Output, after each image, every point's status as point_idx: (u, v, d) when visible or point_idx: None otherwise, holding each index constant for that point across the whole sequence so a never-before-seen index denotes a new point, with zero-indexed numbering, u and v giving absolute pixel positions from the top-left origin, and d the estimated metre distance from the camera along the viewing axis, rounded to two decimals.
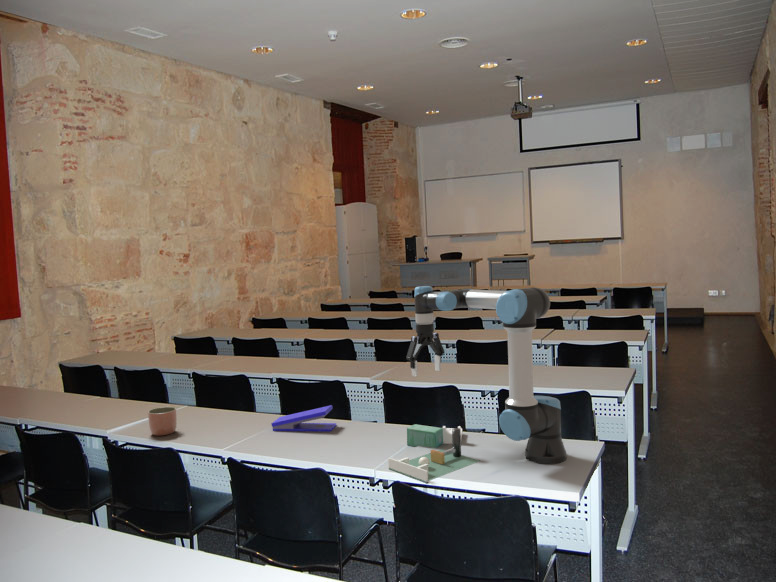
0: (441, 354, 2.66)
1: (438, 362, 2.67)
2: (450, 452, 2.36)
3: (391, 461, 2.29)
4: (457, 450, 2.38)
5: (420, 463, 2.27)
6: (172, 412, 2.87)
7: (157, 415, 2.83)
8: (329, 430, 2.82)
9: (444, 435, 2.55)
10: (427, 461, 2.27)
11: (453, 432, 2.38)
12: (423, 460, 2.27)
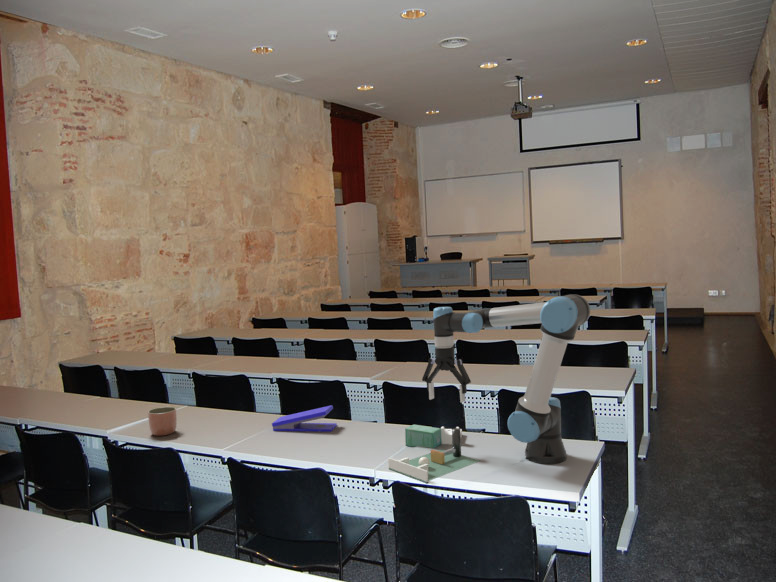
0: (461, 384, 2.40)
1: None
2: (450, 452, 2.36)
3: (391, 461, 2.29)
4: (457, 450, 2.38)
5: (420, 463, 2.27)
6: (172, 412, 2.87)
7: (157, 415, 2.83)
8: (329, 430, 2.82)
9: (442, 436, 2.55)
10: (427, 461, 2.27)
11: (453, 432, 2.38)
12: (423, 460, 2.27)
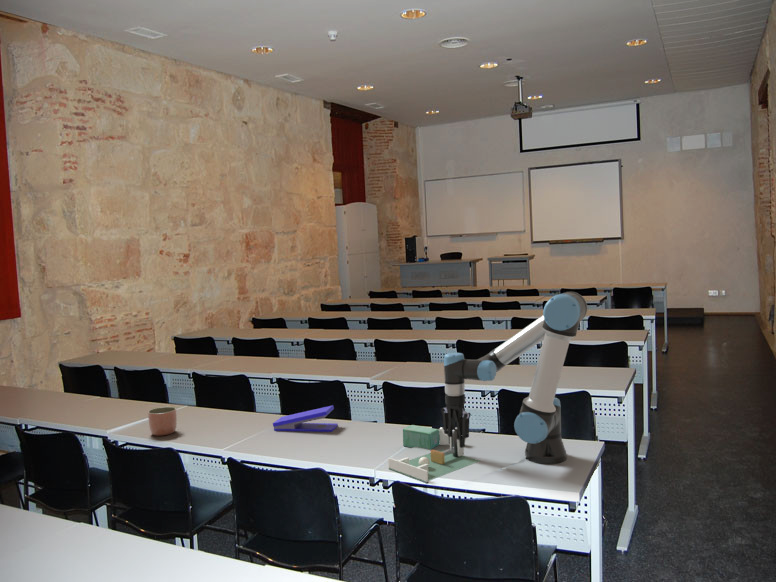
0: (458, 438, 2.36)
1: None
2: (450, 452, 2.36)
3: (391, 461, 2.29)
4: None
5: (420, 463, 2.27)
6: (172, 412, 2.87)
7: (157, 415, 2.83)
8: (330, 430, 2.81)
9: (440, 437, 2.54)
10: (427, 461, 2.27)
11: (453, 432, 2.38)
12: (423, 460, 2.27)
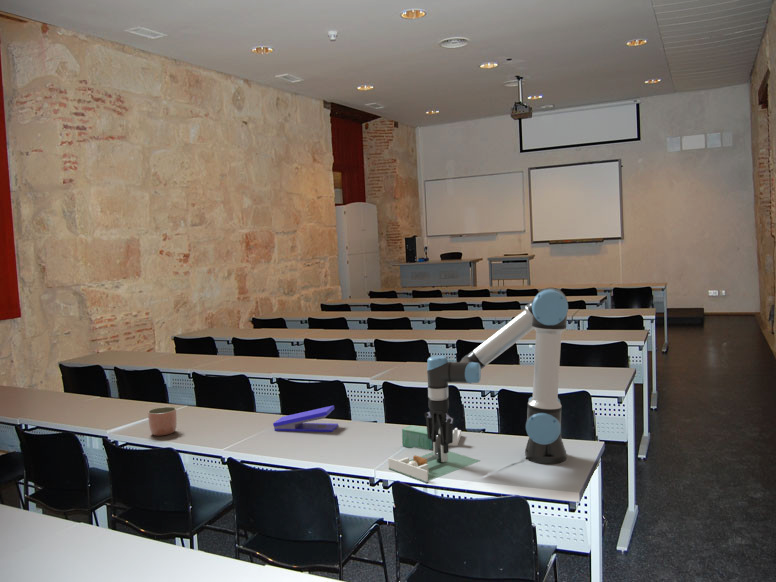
0: (442, 443, 2.30)
1: None
2: (433, 458, 2.31)
3: (391, 461, 2.29)
4: None
5: None
6: (172, 412, 2.87)
7: (157, 415, 2.83)
8: (330, 430, 2.81)
9: None
10: None
11: (437, 437, 2.32)
12: None
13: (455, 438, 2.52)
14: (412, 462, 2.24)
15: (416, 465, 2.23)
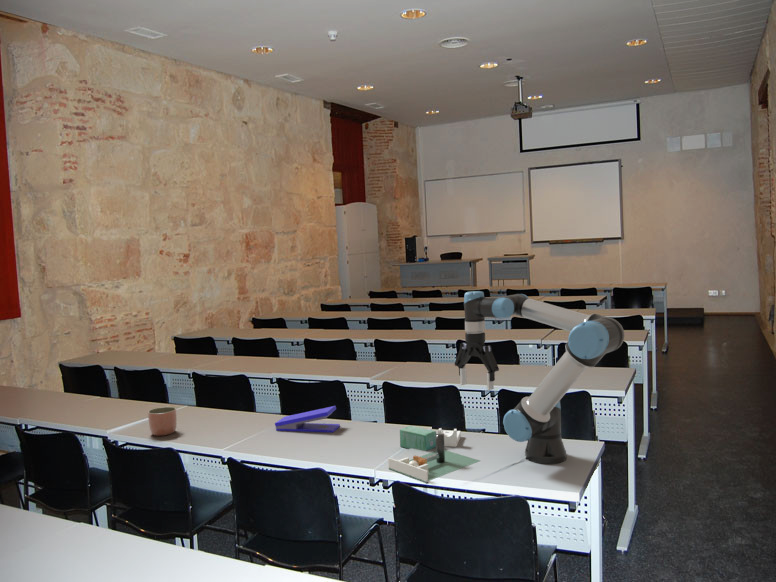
0: (488, 371, 2.33)
1: None
2: (433, 458, 2.31)
3: (391, 461, 2.29)
4: (440, 456, 2.32)
5: None
6: (172, 412, 2.87)
7: (157, 415, 2.83)
8: (331, 431, 2.80)
9: None
10: None
11: (436, 437, 2.32)
12: None
13: (454, 439, 2.51)
14: (413, 461, 2.24)
15: (417, 465, 2.24)
